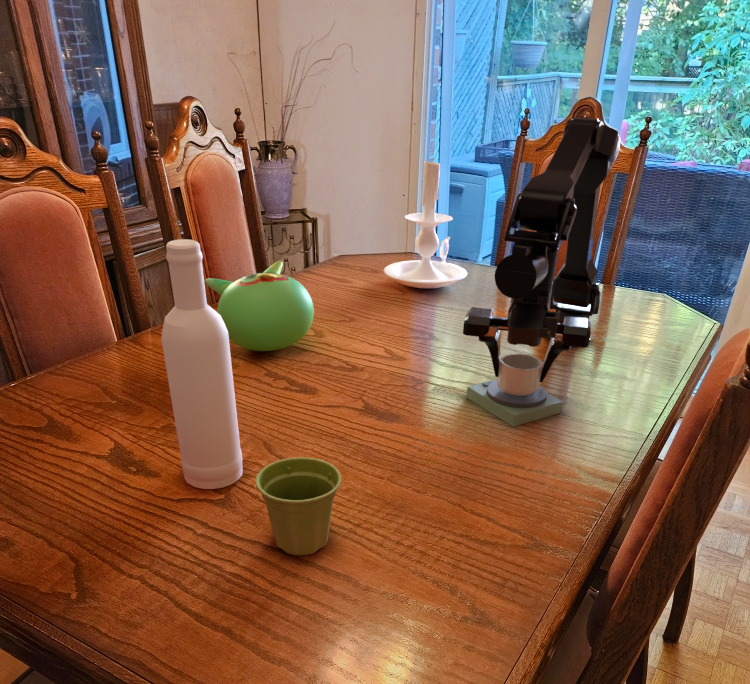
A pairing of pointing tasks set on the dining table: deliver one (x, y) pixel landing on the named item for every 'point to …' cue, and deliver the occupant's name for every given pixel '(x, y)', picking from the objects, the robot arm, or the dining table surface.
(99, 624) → the dining table surface
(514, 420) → the scale
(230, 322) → the green rounded piece
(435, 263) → the candlestick
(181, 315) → the bottle
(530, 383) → the cup
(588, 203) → the robot arm
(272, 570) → the dining table surface
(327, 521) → the plant pot
